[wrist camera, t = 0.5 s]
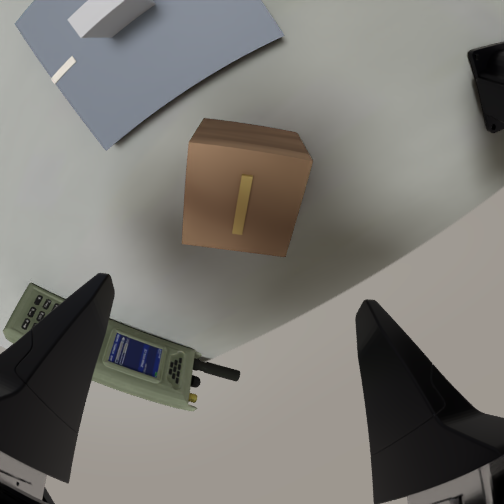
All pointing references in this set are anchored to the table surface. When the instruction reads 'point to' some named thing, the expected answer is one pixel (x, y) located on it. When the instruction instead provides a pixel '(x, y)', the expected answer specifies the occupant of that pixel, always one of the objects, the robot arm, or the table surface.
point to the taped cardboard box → (243, 187)
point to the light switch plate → (138, 51)
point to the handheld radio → (127, 356)
